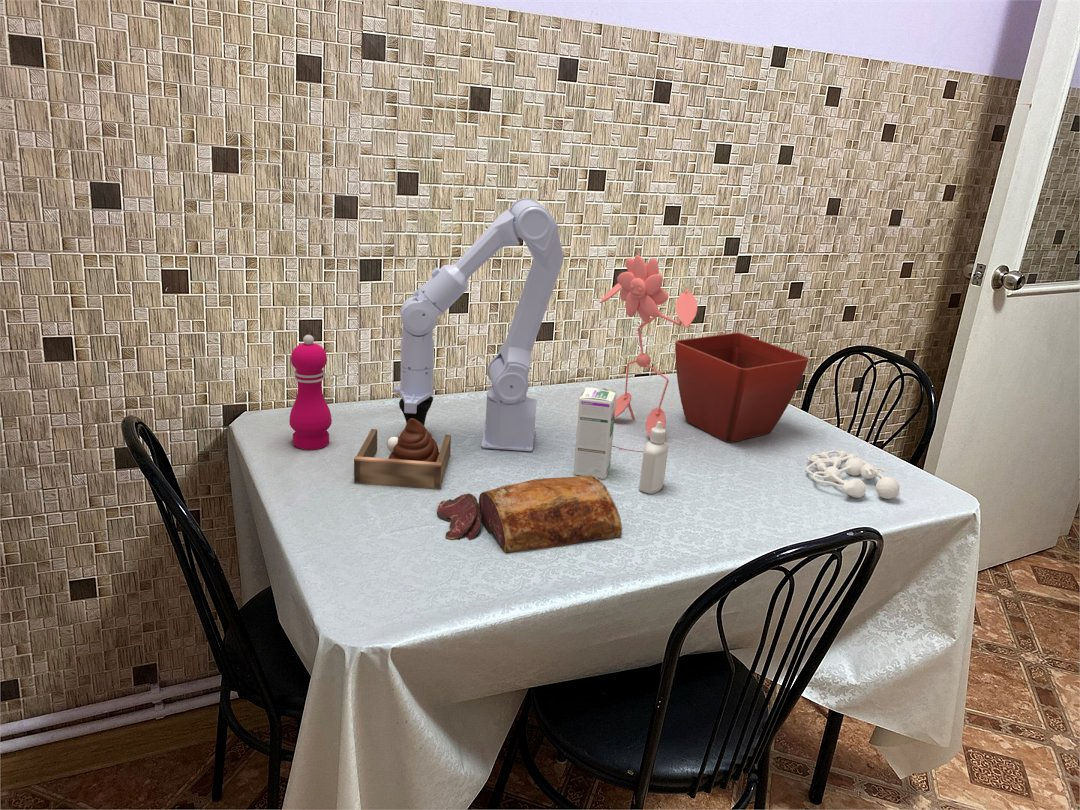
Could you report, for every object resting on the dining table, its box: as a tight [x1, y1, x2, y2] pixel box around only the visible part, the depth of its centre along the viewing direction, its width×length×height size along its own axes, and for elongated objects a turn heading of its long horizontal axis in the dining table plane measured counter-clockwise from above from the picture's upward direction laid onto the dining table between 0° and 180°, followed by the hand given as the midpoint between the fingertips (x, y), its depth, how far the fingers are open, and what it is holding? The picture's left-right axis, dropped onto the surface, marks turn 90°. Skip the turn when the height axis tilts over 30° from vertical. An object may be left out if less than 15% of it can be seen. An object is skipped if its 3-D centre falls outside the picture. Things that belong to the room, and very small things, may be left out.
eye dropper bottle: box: [638, 421, 669, 495], centre depth 141 cm, size 4×6×12 cm
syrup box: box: [573, 387, 617, 480], centre depth 145 cm, size 6×6×14 cm
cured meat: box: [436, 475, 623, 553], centre depth 128 cm, size 18×25×7 cm
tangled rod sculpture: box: [805, 449, 900, 500], centre depth 152 cm, size 19×14×4 cm
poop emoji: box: [386, 418, 440, 462], centre depth 143 cm, size 10×8×9 cm
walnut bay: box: [353, 428, 452, 490], centre depth 143 cm, size 14×14×4 cm
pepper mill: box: [289, 334, 333, 451], centre depth 147 cm, size 7×7×20 cm
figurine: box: [599, 254, 699, 453], centre depth 159 cm, size 15×26×35 cm, turn 36°
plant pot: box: [674, 332, 809, 443], centre depth 169 cm, size 19×19×17 cm
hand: (415, 436), depth 154 cm, fingers closed
